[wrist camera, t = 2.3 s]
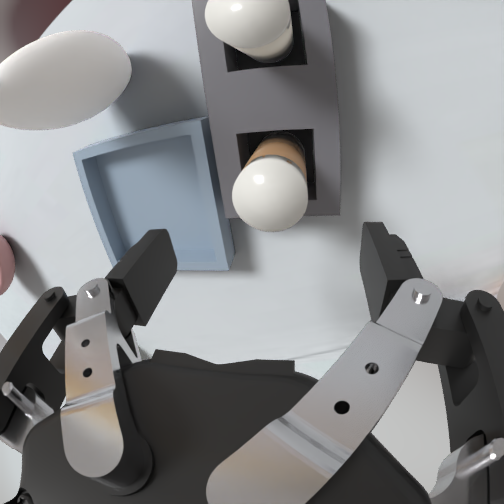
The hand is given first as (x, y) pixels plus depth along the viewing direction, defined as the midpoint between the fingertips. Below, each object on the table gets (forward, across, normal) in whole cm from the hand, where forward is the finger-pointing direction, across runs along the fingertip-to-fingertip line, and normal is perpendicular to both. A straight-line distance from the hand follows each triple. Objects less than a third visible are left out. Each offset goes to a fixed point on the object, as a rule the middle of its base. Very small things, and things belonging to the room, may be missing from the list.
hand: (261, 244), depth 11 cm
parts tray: (+14, +13, +3) cm, 19 cm away
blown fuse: (+14, 0, 0) cm, 14 cm away
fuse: (+14, 0, -10) cm, 18 cm away
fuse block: (+14, 0, -5) cm, 15 cm away
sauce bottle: (+14, +14, -11) cm, 23 cm away
